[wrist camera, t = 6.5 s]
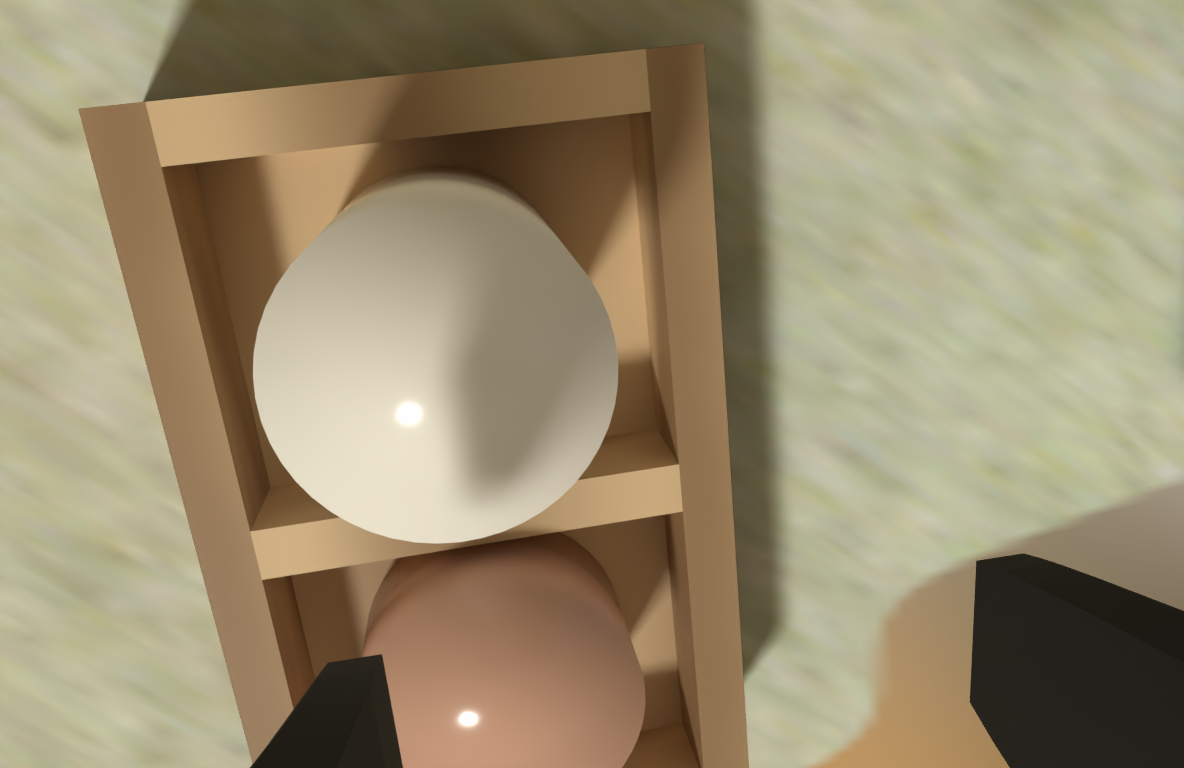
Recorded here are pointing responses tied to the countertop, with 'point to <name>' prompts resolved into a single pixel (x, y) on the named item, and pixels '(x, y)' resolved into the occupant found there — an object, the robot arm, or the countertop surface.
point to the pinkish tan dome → (507, 658)
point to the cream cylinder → (436, 360)
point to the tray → (595, 240)
